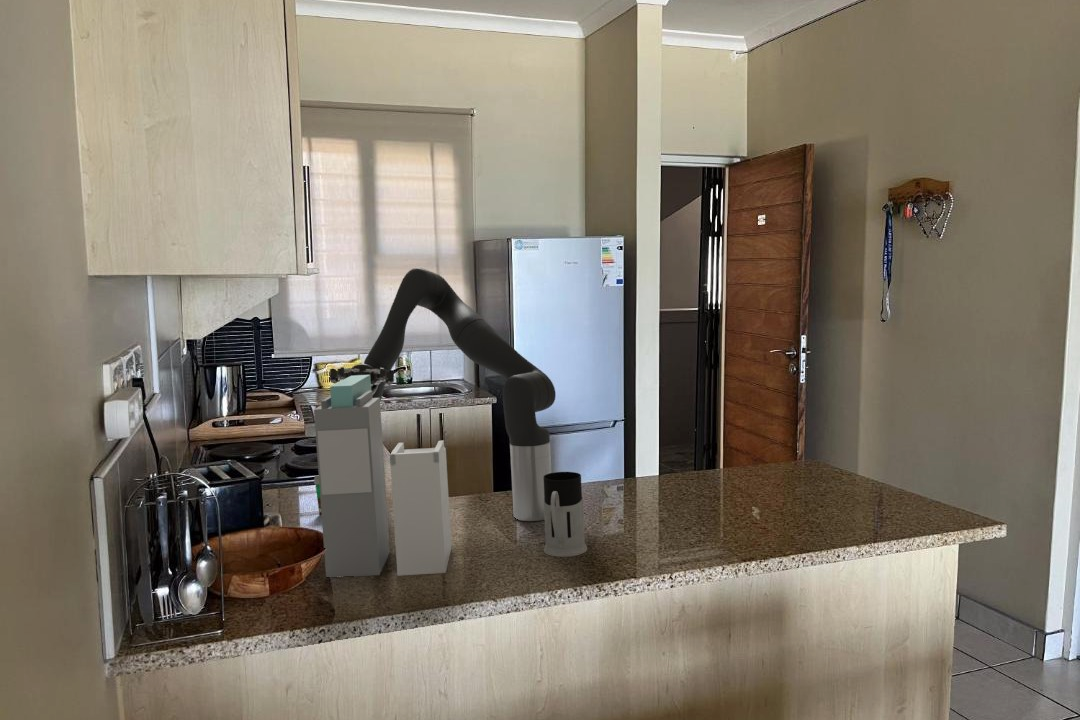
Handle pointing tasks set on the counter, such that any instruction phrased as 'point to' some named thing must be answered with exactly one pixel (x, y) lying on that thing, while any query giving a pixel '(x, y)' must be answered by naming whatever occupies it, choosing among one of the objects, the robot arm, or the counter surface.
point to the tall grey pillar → (352, 487)
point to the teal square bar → (349, 390)
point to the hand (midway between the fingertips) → (362, 372)
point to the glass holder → (564, 514)
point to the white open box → (420, 509)
